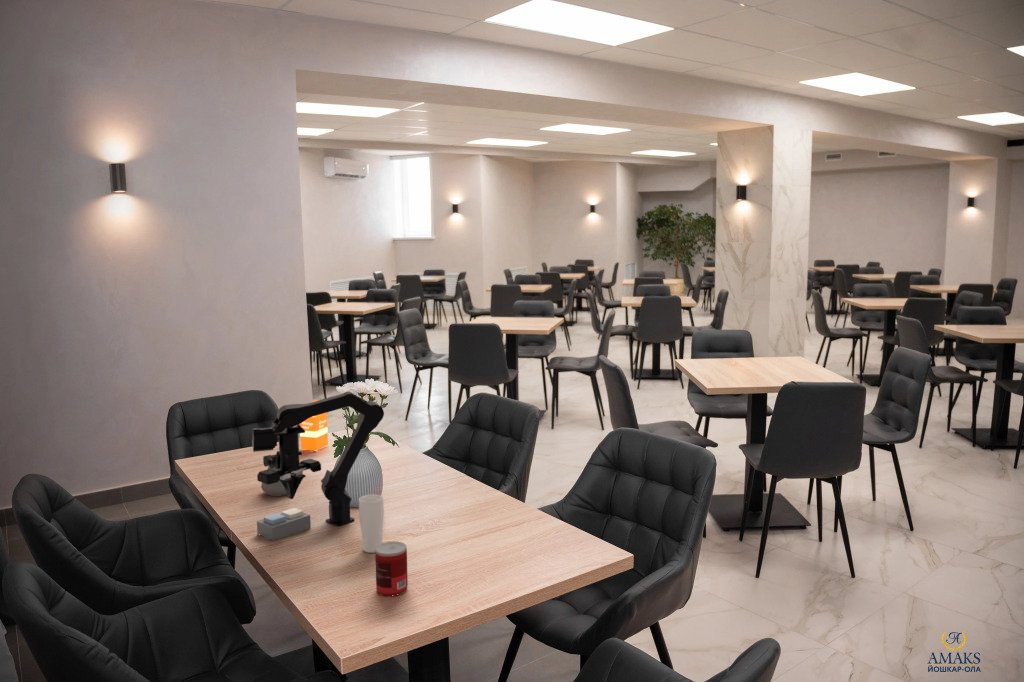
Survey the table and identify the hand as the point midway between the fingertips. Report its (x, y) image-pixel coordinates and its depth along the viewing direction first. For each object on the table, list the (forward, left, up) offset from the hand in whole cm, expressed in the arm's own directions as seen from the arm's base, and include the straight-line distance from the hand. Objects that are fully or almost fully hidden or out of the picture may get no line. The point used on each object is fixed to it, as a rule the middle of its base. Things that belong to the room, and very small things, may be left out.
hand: (291, 498), depth 227 cm
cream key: (0, 0, -8) cm, 8 cm away
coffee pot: (+27, -15, -9) cm, 32 cm away
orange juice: (+70, -59, -9) cm, 92 cm away
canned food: (-55, +8, -9) cm, 56 cm away
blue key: (0, +6, -8) cm, 10 cm away
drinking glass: (-32, -5, -9) cm, 33 cm away
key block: (0, +3, -9) cm, 10 cm away
